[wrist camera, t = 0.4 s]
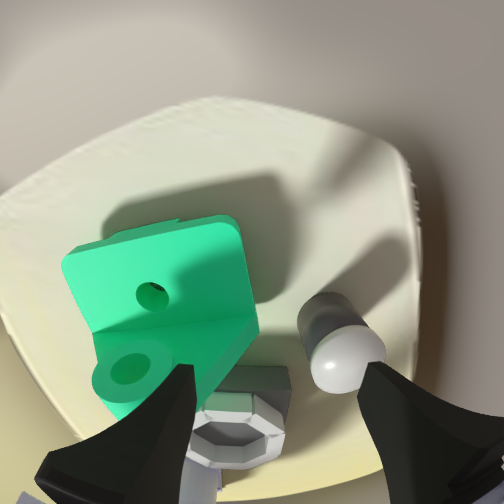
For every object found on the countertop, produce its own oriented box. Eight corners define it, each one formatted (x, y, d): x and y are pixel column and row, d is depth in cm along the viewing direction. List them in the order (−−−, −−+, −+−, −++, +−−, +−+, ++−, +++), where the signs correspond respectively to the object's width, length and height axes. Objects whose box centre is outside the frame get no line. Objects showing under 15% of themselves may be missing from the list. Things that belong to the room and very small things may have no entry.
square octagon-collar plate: (275, 432, 23) (279, 470, 19) (185, 427, 23) (177, 465, 18) (286, 366, 21) (295, 409, 16) (176, 361, 21) (162, 402, 16)
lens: (347, 343, 21) (373, 389, 15) (292, 344, 21) (306, 396, 15) (358, 291, 20) (394, 329, 14) (299, 290, 20) (320, 333, 14)
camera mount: (236, 206, 17) (236, 300, 7) (256, 309, 20) (271, 435, 10) (75, 242, 17) (-14, 325, 8) (112, 328, 20) (64, 428, 11)
